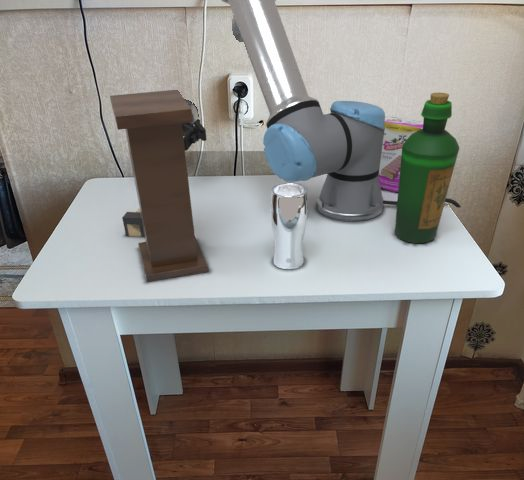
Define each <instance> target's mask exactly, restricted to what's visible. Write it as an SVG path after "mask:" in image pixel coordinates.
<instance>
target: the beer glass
mask: <svg viewBox="0 0 524 480" xmlns="http://www.w3.org/2000/svg"><path fill="white" fill-rule="evenodd" d="M308 203H309V202H308V188H307V187H306V185H304V184H300V183H297V182H284V183H279V184H276V185H274V186H273V187H272V188H271V196H270V222H271V227H272V232H273V236H274V237H273V238H274V254H273V261H272V262H273V264H274V266H275V267H277V268H279V269H281V270H282V269H283V270H294V269H298V268H301V267H302V266H303V265H304V262H305V259H304V252H303V241H304V237H305V232H306V227H307V222H308V212H309V211H308V210H309V207H308V206H309V205H308Z"/></svg>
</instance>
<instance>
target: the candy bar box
mask: <svg viewBox="0 0 524 480" xmlns="http://www.w3.org/2000/svg"><path fill="white" fill-rule="evenodd" d="M384 127H385V130H384V137H383V145H382V153H381V160H380V168H379V176H378V177H379V183H380V188H381V190H383V191H388V192H392V193H397V194H398V189H399V178H400V167H401V155H402V145H403V144H404V143H405V142H406V140H407V139H408V138H409V137H410V135H411V134H413V133H414V132H416V131H418V130H420V129H423V121H422V120H415V119H407V118H401V117H395V116H389V115H385V126H384Z"/></svg>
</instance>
